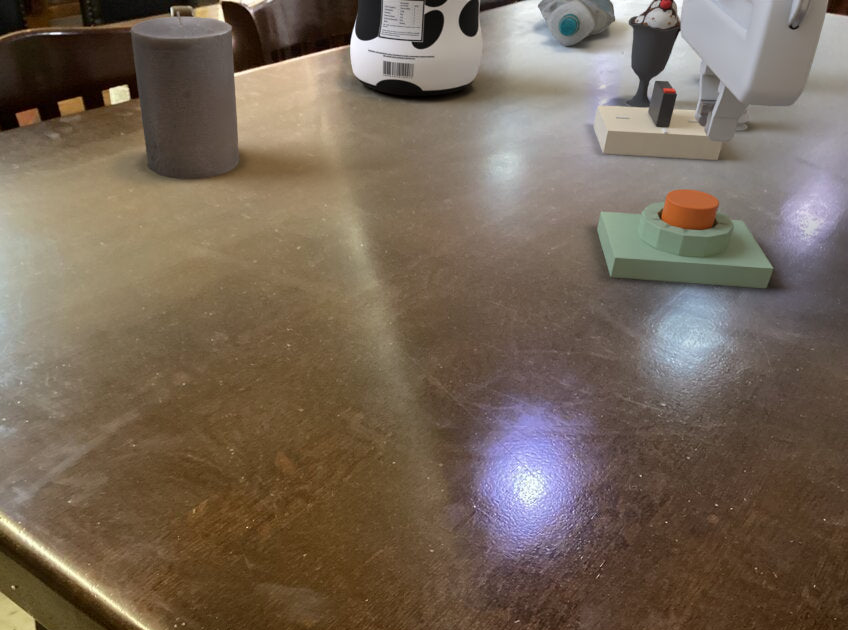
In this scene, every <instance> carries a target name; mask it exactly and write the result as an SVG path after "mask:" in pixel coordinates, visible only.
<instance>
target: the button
mask: <svg viewBox="0 0 848 630" xmlns="http://www.w3.org/2000/svg"><path fill="white" fill-rule="evenodd" d="M664 201H665V204H664V208H663V212H662V216H661V220H662V221H664V222H665V223H667V224H669V225H671V226H675V227H679V228H683V229H689V230H706V229H711V228H712V226H713V223H714V220H715V216H716V213H717V210H718V211H719V207H720V201H719V199H718V198H717V197H715V196H714V195H712V194H710V193H707V192H704V191H702V190H701V191H700V190H696V189H685V188H684V189H682V188H681V189H675V190H671V191H669V192H668V193H667V194H666V197H665V200H664Z"/></svg>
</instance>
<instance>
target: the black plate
mask: <svg viewBox="0 0 848 630" xmlns="http://www.w3.org/2000/svg"><path fill="white" fill-rule="evenodd" d="M677 97H678V93H677V91H676V89H675V88H674V87H673V86H672V84H671V83H670V82H669V80H655V81H654V85H653V89H652V92H651V97H650V100H649V101H650V106H649V107H648V108H649V110H648V113H649V115H650V117H651V118H652V120H653V122H654V124H655V126H658V127H669V125H670V121H671V117H672V113H673V109H675V105H676V102H677V101H676V100H677Z"/></svg>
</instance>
